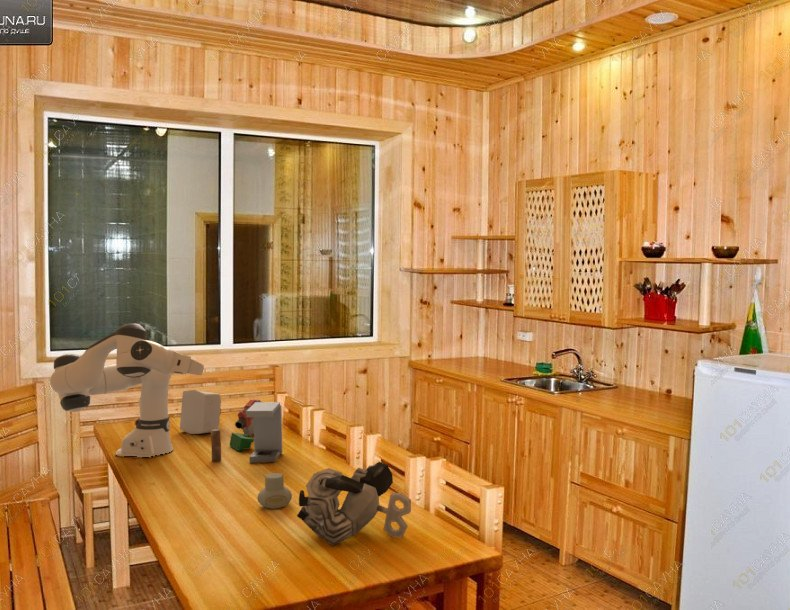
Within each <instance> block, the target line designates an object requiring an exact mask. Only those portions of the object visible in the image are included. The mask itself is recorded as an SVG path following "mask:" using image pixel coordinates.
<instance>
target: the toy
mask: <svg viewBox="0 0 790 610" xmlns="http://www.w3.org/2000/svg"><path fill="white" fill-rule="evenodd" d="M393 479H394V478H393V472H392V471H391V469H390V467H389V465H388V464H386V463H384V462H380V461H378V462H376V463H375V464H373V465H371V464H370V465H368V466H367V468H366V469H364V468H361V467H358V468H357V469H356V470H355V471H354V472H353V474H352V476H351V477H348V476H347V475H344V474H343V472H342V471H339V470H336V469H333V468H329V467H328V468H326V469H323V470H321V471H317V472H314V473H313V474H312V476H311V477H310V479H309V480H308V482H307V483H306V485H305V487H306V491H307V496H306V495H305V492H304V490H299V495H298V506H299V507H301V508H300V510H299V512H298V513H297V515H296V516H297V517H298V519H300V520H302V521H303V523H305V524H306V526H307V527H308V528H309V529H310V530H311V531H312V532H313V533H314V534H316V536H317V537H318V538H319V539H320V538H321V539H325V541H326V543H327V544H329V545H331V546H333V547H334V546H336V545H337V544H340V543H341V542H344V541H345V540H347V539H349V538H351V537H353V536H355V535H356V534H358V533H359V532H361V530H363V528H365V527H366V526H367V525H368V524H369V523H370V522H371V521H372V520H373V519H374V518H375V517H376V515H377V514H378V512H380V513H383V514H385V521H384V525H383V531H384V532H385V533H386V534H388V536H390V537H393V538H402V539H403V537H404V535H405V533H406V530H407V529H408V526H409V525H408V524H407V522H406V521H405V519H404V518H403V517H405V516H406V515H409V514H411V512H412V499H411V498H409V497H408V496H407V495H405V494H403V493H402V492H391V493H390V496H389V500H388V505H387V507H386V506H383V505H380V497H381V496H382V495H384V494H385V493H387V491H388V490H389V489H390V488H391V486H392V485H393V483H394V480H393ZM341 492H347V494H346V496H345V499H344V500H343V502H342V505H341V504H340V501H339V498H338V497H339V495H340V494H341ZM398 501H399V502H401V503H402V504H403V507H401V508H399V506H397V505H396V502H398ZM340 505H341V507H340ZM339 507H340V508H339ZM392 523H396V524H397V525H398V527H399V528H398V529H395V528H394V527H393V526H392V525H391V524H392Z"/></svg>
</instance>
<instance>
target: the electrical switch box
mask: <svg viewBox="0 0 790 610" xmlns="http://www.w3.org/2000/svg"><path fill="white" fill-rule="evenodd" d="M221 400H222V398H221V394H220V393H217V392H208V391H201V390H200V391H199V390H196V389H192V390H191V389H190V390H183V391H182V397H181V411H180V419H179V420H180V425H179V430H180V431H182V432H184V433H187V434H189V435H199V434H209V433H210V434H211V430H215V429H219V426H220V420H221V419H220V418H221V414H222V413H221V411H222V409H221V406H222V401H221Z"/></svg>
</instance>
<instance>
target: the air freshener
mask: <svg viewBox="0 0 790 610" xmlns="http://www.w3.org/2000/svg"><path fill="white" fill-rule="evenodd" d="M284 482H285V481H284V475H283V474H282V473H278V472H276V473H274V472H273V473H268V474H266V475H265V476H264V488H262V489H261V490H260V491H259V492H258V494H257V497H256V498H257V502H258V503H259V504H260V505H261V506H262V507H264V508H265V509H269V510H270V509H271V510H279V509H281V508H283V507H285V506H287V505H289V503H290V502H291V500H292V498H293V495H292V491H291V490H290V489H289V488H288V487H285V483H284Z"/></svg>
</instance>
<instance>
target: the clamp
mask: <svg viewBox="0 0 790 610" xmlns="http://www.w3.org/2000/svg"><path fill="white" fill-rule="evenodd" d="M252 443H253V444H254V437H248V435H246V434H244V433H238V432H231V435H230V440H229V447H231V448H232V449H234V450H236V451H237V452H244V451H245V450H246V449H247V450H249V449H248V448H250V449H251V447H252Z"/></svg>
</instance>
